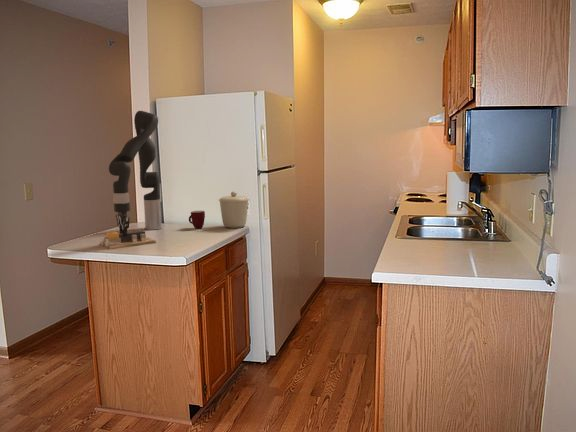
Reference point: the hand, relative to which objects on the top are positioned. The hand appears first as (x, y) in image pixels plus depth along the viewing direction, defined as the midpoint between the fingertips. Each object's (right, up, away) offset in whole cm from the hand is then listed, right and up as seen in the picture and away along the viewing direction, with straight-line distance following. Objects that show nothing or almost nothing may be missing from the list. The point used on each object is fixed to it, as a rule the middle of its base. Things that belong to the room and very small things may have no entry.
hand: (123, 235), depth 252 cm
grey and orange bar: (+2, -2, +2) cm, 3 cm away
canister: (+51, +3, +48) cm, 70 cm away
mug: (+29, +2, +44) cm, 52 cm away
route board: (+2, -4, +2) cm, 5 cm away
